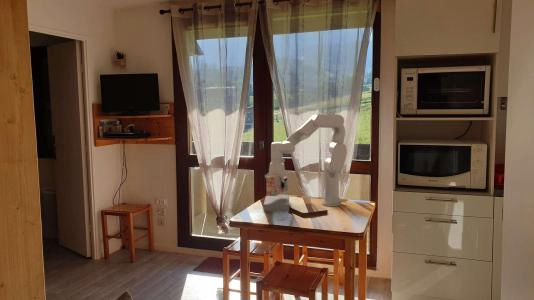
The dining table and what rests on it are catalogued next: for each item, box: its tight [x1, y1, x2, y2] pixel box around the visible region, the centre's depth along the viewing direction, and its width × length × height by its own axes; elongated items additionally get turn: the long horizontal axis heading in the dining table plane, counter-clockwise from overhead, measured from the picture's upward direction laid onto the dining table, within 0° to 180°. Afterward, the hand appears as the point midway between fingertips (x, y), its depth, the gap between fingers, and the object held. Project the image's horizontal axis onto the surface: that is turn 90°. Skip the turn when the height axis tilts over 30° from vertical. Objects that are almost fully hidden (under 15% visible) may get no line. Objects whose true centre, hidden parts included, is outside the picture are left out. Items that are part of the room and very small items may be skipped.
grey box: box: [263, 195, 290, 213], centre depth 280 cm, size 16×26×5 cm, turn 177°
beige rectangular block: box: [265, 175, 288, 197], centre depth 279 cm, size 21×6×12 cm, turn 156°
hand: (276, 188), depth 279 cm, fingers closed on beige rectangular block, 7 cm apart
